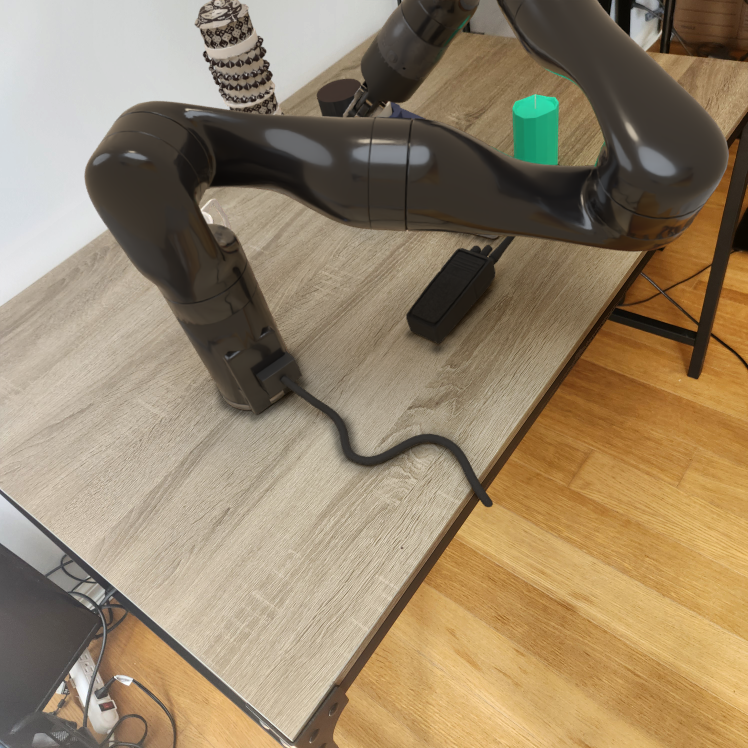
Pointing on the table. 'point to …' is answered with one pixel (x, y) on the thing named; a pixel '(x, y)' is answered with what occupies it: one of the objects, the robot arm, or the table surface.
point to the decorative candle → (237, 57)
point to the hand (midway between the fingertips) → (340, 140)
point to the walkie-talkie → (454, 291)
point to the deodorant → (337, 97)
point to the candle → (536, 129)
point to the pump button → (386, 111)
